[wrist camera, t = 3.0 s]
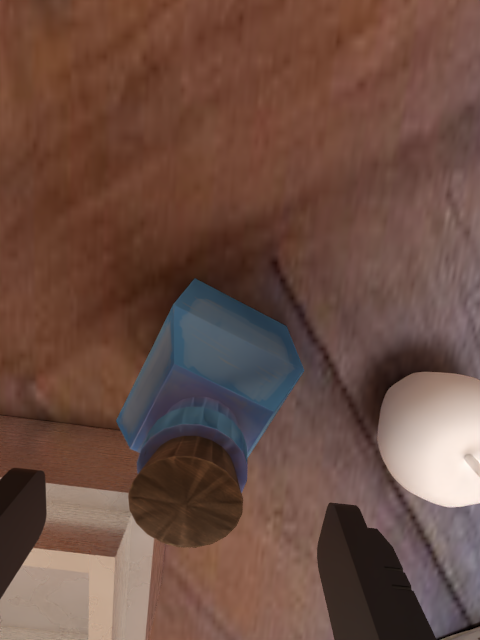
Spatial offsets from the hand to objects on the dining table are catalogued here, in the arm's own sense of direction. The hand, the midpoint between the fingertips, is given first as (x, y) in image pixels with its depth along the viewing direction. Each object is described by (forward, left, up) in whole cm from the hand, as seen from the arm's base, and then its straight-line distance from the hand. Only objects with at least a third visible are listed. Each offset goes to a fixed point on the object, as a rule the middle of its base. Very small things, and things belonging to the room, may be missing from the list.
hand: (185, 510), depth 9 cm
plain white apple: (+2, +13, -12) cm, 18 cm away
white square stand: (+14, -9, -12) cm, 20 cm away
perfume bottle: (0, 0, -12) cm, 12 cm away
